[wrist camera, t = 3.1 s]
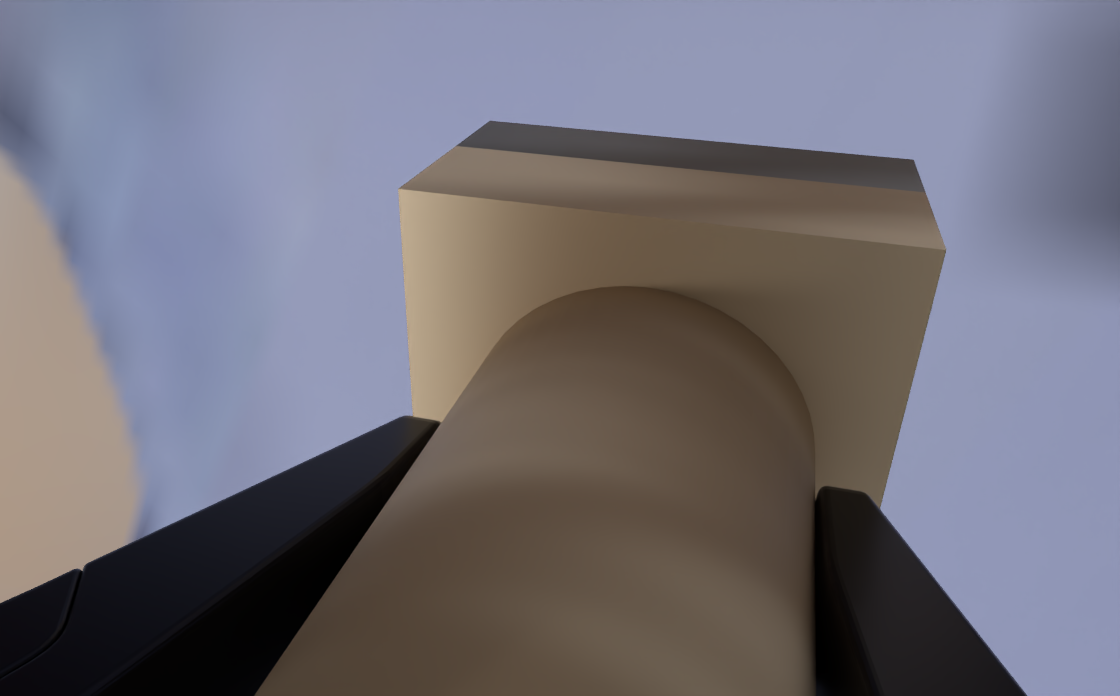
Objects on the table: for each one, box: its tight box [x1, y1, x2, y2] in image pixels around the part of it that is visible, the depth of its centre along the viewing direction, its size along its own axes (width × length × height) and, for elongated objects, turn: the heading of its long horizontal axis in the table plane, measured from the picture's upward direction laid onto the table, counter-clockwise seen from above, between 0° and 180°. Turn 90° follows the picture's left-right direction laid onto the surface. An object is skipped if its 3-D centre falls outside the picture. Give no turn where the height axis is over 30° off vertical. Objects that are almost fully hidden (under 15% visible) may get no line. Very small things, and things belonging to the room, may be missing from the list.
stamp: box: [254, 121, 946, 696], centre depth 8 cm, size 5×5×9 cm
